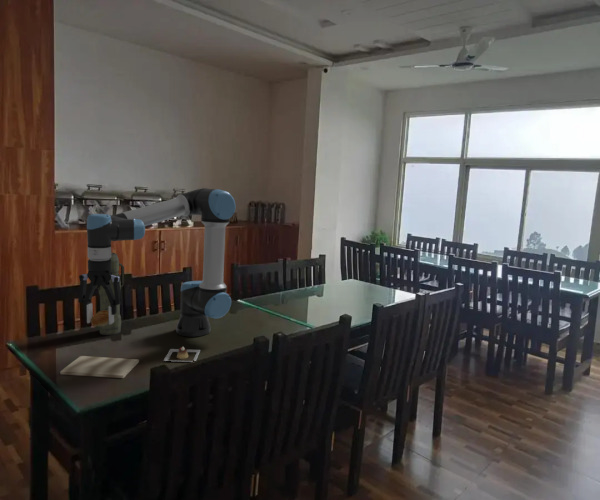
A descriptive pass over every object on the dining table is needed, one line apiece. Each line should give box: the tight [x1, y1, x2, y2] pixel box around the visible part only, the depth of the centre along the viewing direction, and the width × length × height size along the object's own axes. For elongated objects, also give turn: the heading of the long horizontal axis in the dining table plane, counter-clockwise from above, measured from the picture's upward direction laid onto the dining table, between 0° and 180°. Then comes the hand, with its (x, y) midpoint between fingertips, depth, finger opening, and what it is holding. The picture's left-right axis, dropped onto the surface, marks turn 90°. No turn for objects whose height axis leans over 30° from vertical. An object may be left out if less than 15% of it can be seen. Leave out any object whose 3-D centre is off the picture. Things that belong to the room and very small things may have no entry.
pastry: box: [91, 310, 109, 327], centre depth 162 cm, size 9×7×4 cm
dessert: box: [163, 346, 201, 363], centre depth 179 cm, size 12×12×5 cm
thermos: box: [95, 252, 125, 336], centre depth 199 cm, size 9×12×35 cm
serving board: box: [59, 355, 140, 379], centre depth 165 cm, size 22×14×1 cm, turn 88°
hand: (100, 322), depth 162 cm, fingers closed on pastry, 7 cm apart
